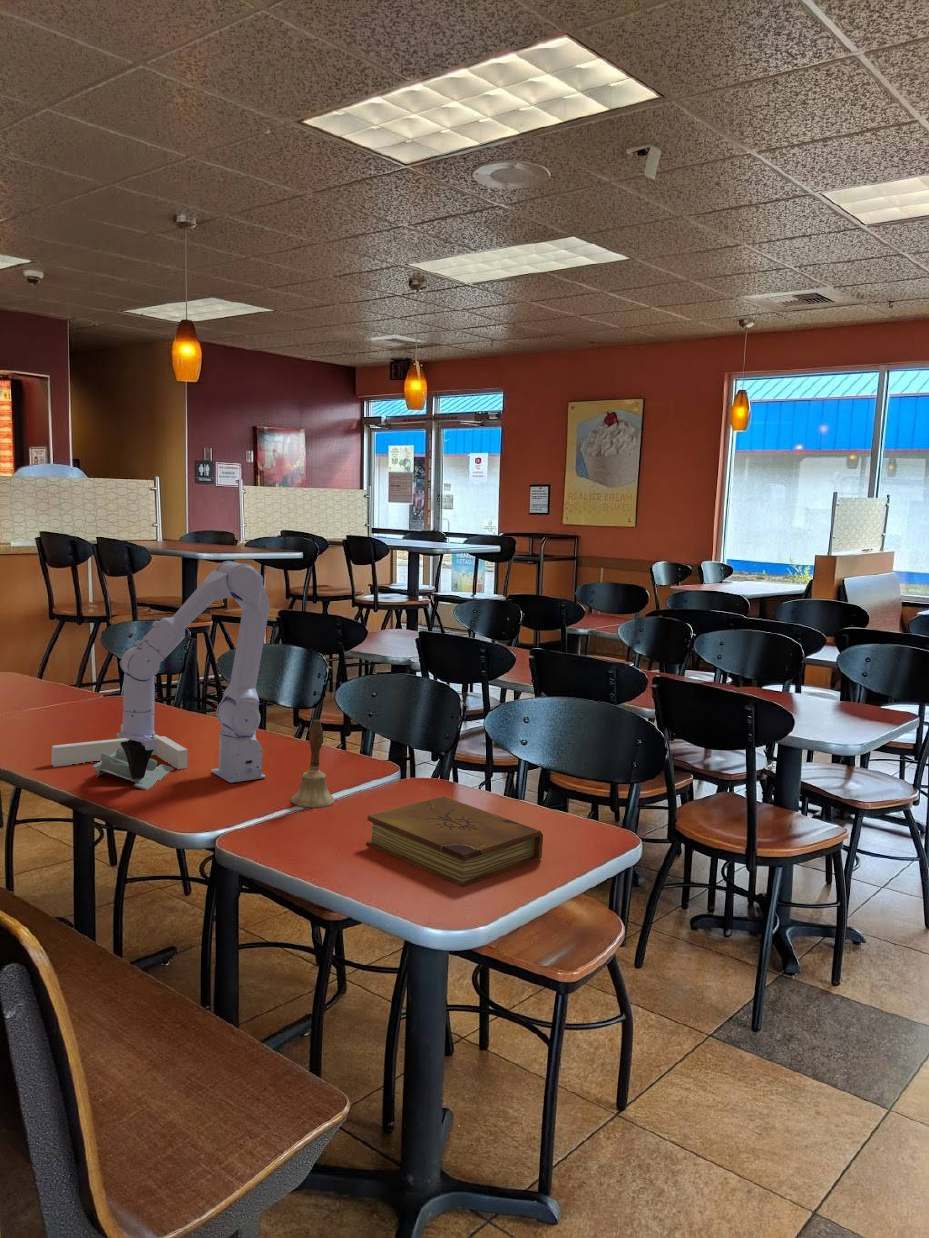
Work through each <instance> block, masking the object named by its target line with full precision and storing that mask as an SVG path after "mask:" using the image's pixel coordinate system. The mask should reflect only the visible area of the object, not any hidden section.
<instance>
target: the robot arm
mask: <svg viewBox="0 0 929 1238" xmlns="http://www.w3.org/2000/svg"><path fill="white" fill-rule="evenodd" d="M230 598H233V599H234V601H235V602H236V604H238V606H239V607H240V608H241V609H242V610H241V611H242V612H241V617H240V621H239V622H240V623H239V629H238V633H237V635H238V636H237V640H236V646H235V652H234V659H233V664H232V669H231V676H230V683H229V685H228V686H227V687H226V689H225V690H224V692H223V696H222V699H221V701H220V702H219V704H218V706H217V707H216V718H217V721H218V722H219V723H220V724H221V727H220V729H219V749H218V750H219V752H218V755H219V757H218V768H212V769H211V770H210V772H211V773H213V774H214V775H216V776H217V777H220V778H221V779H222V780H225V781H226V782H228V783H230V784H233V783H238V782H244V781H245V782H246V781H251V780H259V779H260V780H261V779H265V778H266V775H265V774H264V773H262V772H263V771H262V769H263V746H262V745H261V743H260V742H259V741H258V739H257V737H256V736H257V735H256V733H257V732H256V731H257V729H258V728H259V726H260V723H261V718H262V717H261V713H260V710H259V709H260V708H259V706H260V705H259V704H260V699H259V695H258V692H257V682H258V678H259V672H260V671H259V670H260V667H261V665H260V664H261V659H262V656H263V655H262V654H263V647H264V643H265V636H266V631H267V624H268V619H269V618H268V617H269V614H270V613H269V612H270V600H269V597H268V595H267V591H266V588H265V586H264V577H263V576H262V575H261V574H260V573H259V571H258V570H257V569H256V568H255V567H254V566H253V565H250V564H248V563H241V562H235V561H233V560H226V561H225V560H224V561H223V562H221V563H220V564H218V566H216V568H215V570H212V571H211V572H209V574H208V575H207V576H206V577H205V578H204V580H203V581H202V582H201V584H199V586H198V587H197V588H196V589H195V590H194V592H192V594H191V595H190V596H189V597H188V598H187V599H186V600H185V602H184V603H183V604H182V605H181V606H180V608H179V609H178V610H177V611H176V612H175V613H174V614H173V615H172V616H171V617H162V618H161V619H159V620H154V621H153V623H151V626H152V628H151V629H150V630H149V631H148V633H146V635H144V636H143V637H142V638H141V640H139V639H137V640H136V641H135V642H134V645H135V646H134V647H130V648H128V649H126V651H125V652H124V654H122V657H121V660H120V661H119V666H120V668H121V670H122V672H123V673H124V676H123V677H124V678H123V688H122V689H123V695H122V697H123V698H122V700H123V701H122V702H123V703H122V704H123V705H122V724H120V732H119V731H118V732H116V738H117V739H120V738H126V739H129V740H128V741H125V742H121V746H122V748H123V750H124V752H125V754H126V757H127V761H128V765H129V770H130V774H131V777H132V778H133V779H139V778H144V776H145V772H146V768H147V765H148V761H149V759H150V758H151V757H152V755H151V754H152V752H153V751H154V749H157V739H156V738H155V735H156V731H155V694H156V693H155V690H156V688H155V687H156V686H155V676H156V675H157V674H159V670H160V667H161V662H163V661H164V660H165V659H166V658H167V657H168V656H169V655H170V654H171V653H172V652H173V651H174V650H175V649H176V647H178V646H179V645H180V644H181V642H183V640H184V639H185V638H186V628H188V627H189V625H190V624H191V623H192V622H193V621H194V620H195V619H197V618H198V617H199V616H200V615H201V614H202V613H203V612H204V611H205V610H206V609H207V608H208V607H210V605H211V604H213V603H214V602H215V601H218V600H224V599H230Z"/></svg>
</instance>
